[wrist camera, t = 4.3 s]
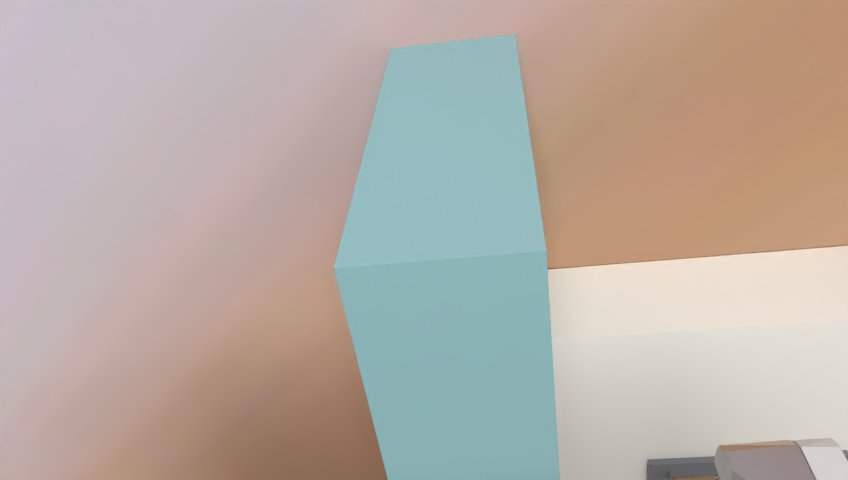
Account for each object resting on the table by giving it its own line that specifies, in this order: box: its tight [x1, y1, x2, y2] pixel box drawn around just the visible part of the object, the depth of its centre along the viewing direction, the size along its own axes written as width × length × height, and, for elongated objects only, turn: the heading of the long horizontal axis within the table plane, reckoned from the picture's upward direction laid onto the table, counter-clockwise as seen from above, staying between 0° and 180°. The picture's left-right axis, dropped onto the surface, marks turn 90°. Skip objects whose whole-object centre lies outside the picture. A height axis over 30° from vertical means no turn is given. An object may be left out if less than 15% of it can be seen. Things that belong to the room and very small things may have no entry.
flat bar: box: [334, 34, 560, 480], centre depth 16 cm, size 3×6×9 cm, turn 8°
